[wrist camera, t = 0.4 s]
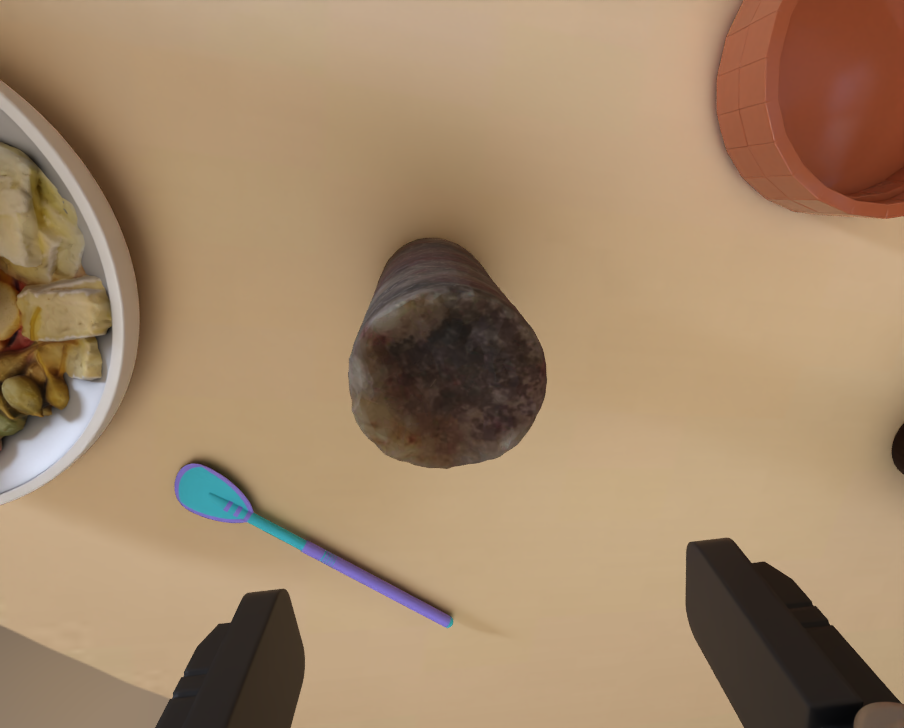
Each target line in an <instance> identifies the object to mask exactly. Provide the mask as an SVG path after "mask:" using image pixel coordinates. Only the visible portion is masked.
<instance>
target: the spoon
mask: <svg viewBox="0 0 904 728" xmlns="http://www.w3.org/2000/svg"><path fill="white" fill-rule="evenodd" d="M175 494H176V497H177V499H178V501H179V502H180V503H181V505H182V506H183V507H185V508H186V509H187V510H189V511H191V512H193V513H195V514H197V515H200V516H202V517H205V518H208V519H212V520H216V521H221V522H228V523H243V522H248V523H250V524H252V525H254V526H256V527H258V528H259V529H261V530H263V531H265V532H267V533H269V534H271V535H273V536H275V537H277V538H278V539H280V540H282V541H284V542H286V543H288V544H290V545H292V546H294V547H296V548H297V549H299V550H301V552H303V553H305V554H307V555H309V556H311V557H313V558H315V559H316V560H318V561H320V562H322V563H324V564H326V565H328V566H330V567H332V568H334V569H336V570H337V571H339V572H341V573H343V574H345V575H347V576H349V577H351V578H353V579H355V580H356V581H358V582H360V583H362V584H364V585H366V586H368V587H370V588H372V589H374V590H376V591H377V592H379V593H381V594H383V595H385V596H387V597H389V598H391V599H393V600H395V601H396V602H398V603H400V604H402V605H404V606H406V607H408V608H410V609H412V610H414V611H416V612H417V613H419V614H421V615H423V616H425V617H427V618H429V619H431V620H433V621H435V622H436V623H438V624H440V625H442V626H444V627H446V628H449V627H451V626H452V625H453V618H452V617H451V616H449V615H447V614H445V613H444V612H442V611H440V610H438V609H436V608H434V607H432V606H430V605H429V604H427V603H425V602H423V601H421V600H419V599H417V598H415V597H414V596H412V595H410V594H408V593H406V592H404V591H402V590H400V589H398V588H397V587H395V586H393V585H391V584H389V583H387V582H385V581H383V580H382V579H380V578H378V577H376V576H374V575H372V574H370V573H368V572H366V571H365V570H363V569H361V568H359V567H357V566H355V565H353V564H351V563H350V562H348V561H346V560H344V559H342V558H340V557H338V556H336V555H334V554H333V553H331V552H329V551H327V550H326V551H325V549H323V548H321V547H319V546H318V545H316V544H314V543H312V542H310V541H308V540H304V539H303V538H301V537H299V536H297V535H295V534H293V533H291V532H289V531H287V530H286V529H284V528H282V527H280V526H278V525H276V524H274V523H272V522H271V521H269V520H267V519H265V518H263V517H261V516H259V515H257V514H255V513H254V512H253V508H252V505H251V504H250V502H249V500H248V499H247V497H246V496H245V495H244V494H243V493H242V492H241V490H240V489H239V488H238V487H236V486H235V485H234V484H233V483H232V482H231V481H230V480H228V479H227V478H226V477H224V476H223V475H221V474H220V473H218V472H216V471H215V470H213V469H211V468H209V467H207V466H205V465H202V464H196V463H195V464H188V465H185V466H184V467H182V468H181V470H180V471H179V472H178V474H177V476H176V479H175Z"/></svg>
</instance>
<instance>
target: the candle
mask: <svg viewBox="0 0 904 728" xmlns="http://www.w3.org/2000/svg"><path fill="white" fill-rule="evenodd" d="M348 377H349V390H350V395H351V399H352V412H353V414H354V416H355V419H356V422H357V424H358V425H359V427H360V428H361V430H362V431H363V433H364V434H365V435H366V436H367V437H368V439H370V440H371V441H372V442H374V443H375V444H376V445H377V447H378V448H379V449H380V450H381V451H382V452H383V453H384V454H385V455H387V456H390V457H392V458H394V459H397V460H399V461H404V462H409V463H411V464H414V465H417V466H422V467H428V468H445V469H448V468H451V467H454V466H461V465H466V464H474V463H480V462H483V461H486V460H491V459H495V458H498V457H500V456H501V455H503V454H504V453H505V452H507V451H509V450H510V449H512V448H513V447H515V446H516V445H517V444H518V443H519V442H520V441H521V439H522V438H523V437H524V436H525V435H526V433H527V432H528V430H529V429H530V427H531V426H532V424H533V422H534V420H535V418H536V415H537V414H538V412H539V410H540V408H541V406H542V403H543V401H544V397H545V393H546V383H547V377H546V362H545V357H544V352H543V348H542V346H541V344H540V342H539V340H538V338H537V336H536V334H535V332H534V331H533V329H532V327H531V326H530V325H529V324H528V323H527V322H526V320H525V319H524V318H523V316H522V315H521V314H520V313H519V311H518V310H517V309H516V307H515V306H514V305H513V304H511V303H510V301H509V300H508V299H507V297H506V296H505V295H504V294H503V293H502V292H501V291H500V289H499V288H498V287H497V285H496V284H495V283H494V282H493V281H492V279H491V278H490V276H489V275H488V274H487V272H486V271H485V269H484V268H483V267H482V265H481V264H480V263H479V262H478V261H477V260H476V259H475V258H474V257H473V255H472V254H470V253H469V252H468V251H467V250H465V249H464V248H462V247H461V246H459V245H458V244H455V243H453V242H450V241H447V240H442V239H435V238H424V239H418V240H415V241H413V242H410V243H408V244H406V245H405V246H403V247H402V248H400V249H399V250H398V251H397V252H396V253H395V254H394V255H393V256H392V257H391V258H390V259H389V261H388V262H387V264H386V266H385V268H384V270H383V272H382V274H381V276H380V279H379V281H378V285H377V288H376V290H375V293H374V296H373V298H372V301H371V303H370V305H369V308H368V310H367V312H366V315H365V317H364V320H363V323H362V325H361V327H360V330H359V332H358V335H357V337H356V340H355V342H354V345H353V349H352V353H351V355H350V358H349V372H348Z"/></svg>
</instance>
